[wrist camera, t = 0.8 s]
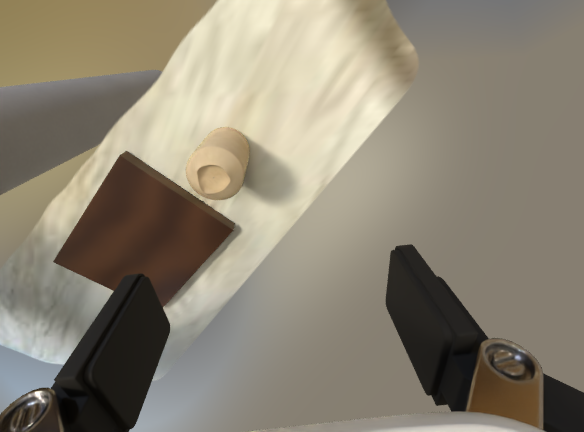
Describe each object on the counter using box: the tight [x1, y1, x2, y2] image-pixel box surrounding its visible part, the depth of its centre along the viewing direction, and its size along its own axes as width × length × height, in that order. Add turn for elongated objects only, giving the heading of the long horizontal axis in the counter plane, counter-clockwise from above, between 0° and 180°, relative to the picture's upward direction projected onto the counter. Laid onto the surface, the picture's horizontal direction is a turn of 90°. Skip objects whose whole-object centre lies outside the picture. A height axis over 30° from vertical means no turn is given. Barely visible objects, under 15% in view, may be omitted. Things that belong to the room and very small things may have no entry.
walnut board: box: [53, 151, 235, 307], centre depth 40 cm, size 16×20×2 cm
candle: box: [186, 127, 250, 200], centre depth 30 cm, size 6×6×10 cm
